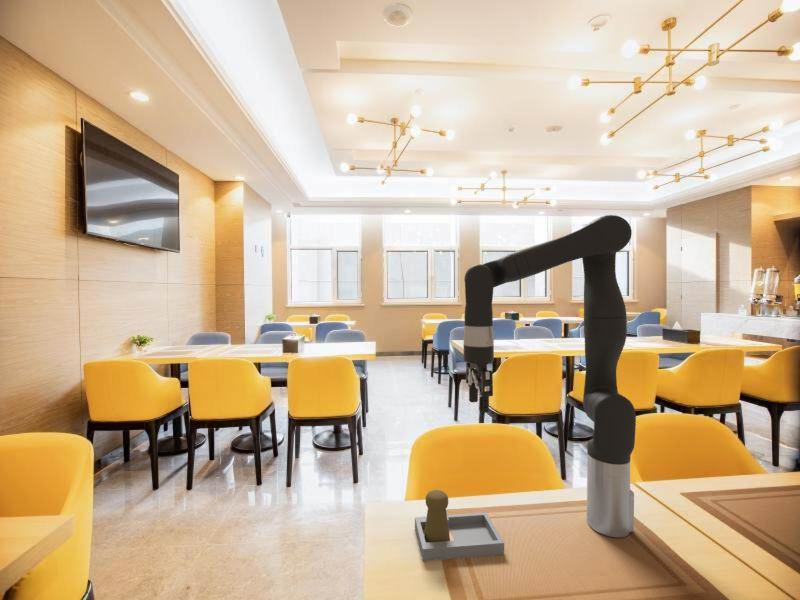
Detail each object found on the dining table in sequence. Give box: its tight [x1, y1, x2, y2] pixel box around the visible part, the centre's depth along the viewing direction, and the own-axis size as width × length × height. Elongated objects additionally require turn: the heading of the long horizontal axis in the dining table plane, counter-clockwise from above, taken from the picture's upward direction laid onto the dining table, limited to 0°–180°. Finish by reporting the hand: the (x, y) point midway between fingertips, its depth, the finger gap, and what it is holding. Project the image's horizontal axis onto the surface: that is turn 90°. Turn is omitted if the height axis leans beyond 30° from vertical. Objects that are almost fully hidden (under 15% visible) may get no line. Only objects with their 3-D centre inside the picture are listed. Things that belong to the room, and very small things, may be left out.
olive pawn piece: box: [424, 489, 450, 543], centre depth 86 cm, size 6×6×11 cm
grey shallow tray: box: [414, 511, 505, 562], centre depth 87 cm, size 18×12×3 cm, turn 96°
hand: (478, 406), depth 96 cm, fingers open, 8 cm apart
